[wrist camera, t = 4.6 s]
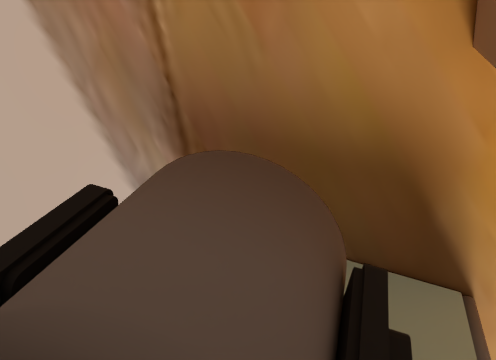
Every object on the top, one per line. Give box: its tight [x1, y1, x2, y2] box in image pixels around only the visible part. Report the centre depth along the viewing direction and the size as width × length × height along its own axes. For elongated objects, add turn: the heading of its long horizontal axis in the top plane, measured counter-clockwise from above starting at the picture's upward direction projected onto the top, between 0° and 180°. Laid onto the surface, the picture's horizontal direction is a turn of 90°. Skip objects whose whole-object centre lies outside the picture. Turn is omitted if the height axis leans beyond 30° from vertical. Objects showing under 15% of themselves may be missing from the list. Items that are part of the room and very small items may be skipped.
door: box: [344, 260, 491, 360], centre depth 24 cm, size 15×1×10 cm, turn 81°
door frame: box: [473, 0, 496, 68], centre depth 21 cm, size 28×2×10 cm, turn 6°
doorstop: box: [0, 151, 347, 360], centre depth 10 cm, size 6×6×6 cm
